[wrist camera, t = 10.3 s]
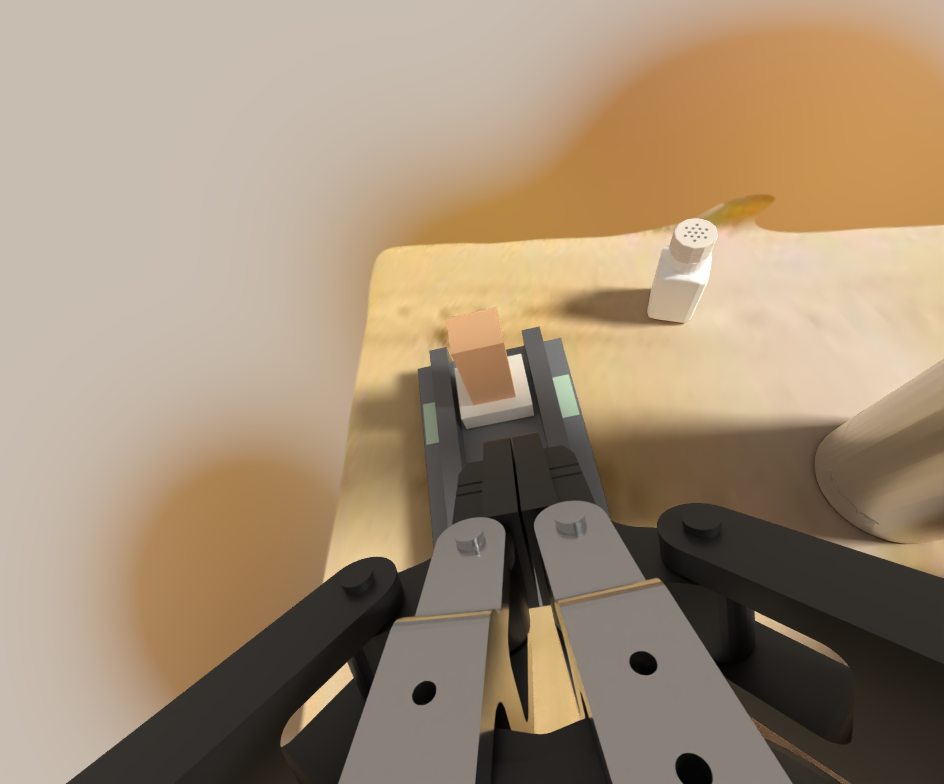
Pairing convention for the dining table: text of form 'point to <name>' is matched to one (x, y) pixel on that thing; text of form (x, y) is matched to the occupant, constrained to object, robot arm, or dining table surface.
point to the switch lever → (487, 371)
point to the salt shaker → (682, 271)
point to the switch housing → (459, 446)
